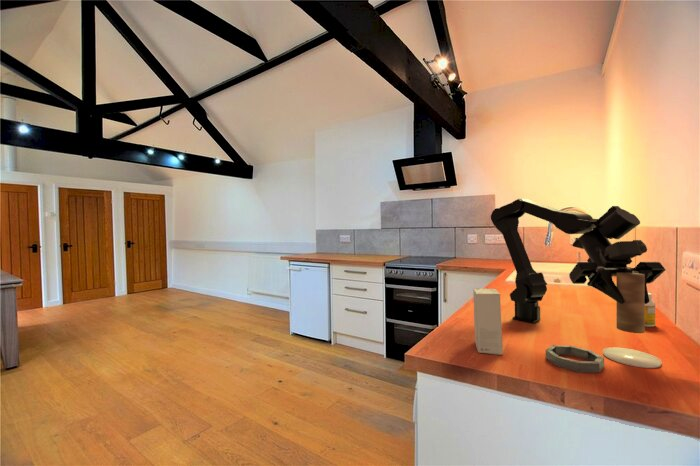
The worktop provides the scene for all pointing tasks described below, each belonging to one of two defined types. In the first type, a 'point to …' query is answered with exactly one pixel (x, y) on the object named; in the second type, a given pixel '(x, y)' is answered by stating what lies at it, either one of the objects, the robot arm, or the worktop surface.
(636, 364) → the cream disc
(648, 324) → the supplement bottle
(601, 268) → the robot arm
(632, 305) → the walnut peg
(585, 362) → the steel ring
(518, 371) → the worktop surface
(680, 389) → the worktop surface
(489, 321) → the skincare box
